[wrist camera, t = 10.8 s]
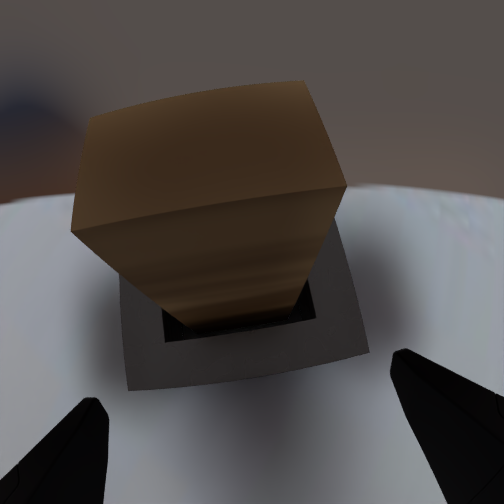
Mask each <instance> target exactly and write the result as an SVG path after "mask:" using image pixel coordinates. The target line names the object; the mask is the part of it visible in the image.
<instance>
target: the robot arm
mask: <svg viewBox="0 0 504 504" xmlns="http://www.w3.org/2000/svg"><path fill="white" fill-rule="evenodd" d="M390 376H391V379H392V382H393V384H394V387H395V390H396V392H397V395H398V397H399V400H400V403H401V406H402V408H403V411H404V413H405V416H406V418H407V420H408V422H409V424H410V426H411V428H412V430H413V432H414V434H415V436H416V438H417V440H418V442H419V444H420V446H421V448H422V450H423V453H424V455H425V457H426V459H427V461H428V463H429V465H430V467H431V469H432V471H433V473H434V475H435V478H436V480H437V482H438V484H439V486H440V488H441V491H442V493H443V495H444V497H445V499H446V502H447V504H504V397H503V396H501V395H499V394H495V393H494V392H492V391H490V390H488V389H486V388H484V387H482V386H480V385H478V384H476V383H474V382H472V381H470V380H468V379H466V378H464V377H462V376H460V375H458V374H456V373H455V372H453V371H451V370H449V369H447V368H445V367H443V366H441V365H439V364H437V363H435V362H433V361H431V360H429V359H427V358H425V357H423V356H421V355H419V354H417V353H415V352H413V351H411V350H409V349H407V348H404V349H401V350H398V351H395V352H394V354H393V357H392V363H391V369H390ZM108 441H109V416H108V414H107V412H106V411H105V409H104V407H103V406H102V404H101V403H100V401H99V400H98V399H97V398H95V397H86V398H84V399H83V400H82V401H81V402H80V403H79V404H78V405H77V406H75V407H74V408H73V409H72V410H71V411H70V412H69V413H68V414H67V415H66V416H65V417H64V418H63V419H62V420H61V421H60V422H59V423H58V424H57V425H56V426H55V427H54V428H53V429H52V430H51V431H50V432H49V433H48V434H47V435H46V436H45V437H44V438H43V439H42V440H41V441H40V442H39V443H38V444H37V445H36V446H35V447H34V448H33V449H32V450H31V451H30V452H29V453H28V454H27V455H26V456H25V457H24V458H23V459H22V460H21V461H19V463H18V464H16V465H15V466H14V467H13V468H12V469H11V470H10V471H9V472H8V473H7V474H6V475H5V476H4V477H3V478H2V479H1V480H0V504H103V501H104V491H105V482H106V473H107V465H108Z"/></svg>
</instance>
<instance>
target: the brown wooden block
mask: <svg viewBox="0 0 504 504" xmlns="http://www.w3.org/2000/svg"><path fill="white" fill-rule="evenodd" d="M346 188H347V184H346V181H345V179H344V176H343V173H342V170H341V168H340V165H339V163H338V160H337V158H336V155H335V152H334V150H333V148H332V144H331V142H330V139H329V137H328V135H327V132H326V130H325V128H324V125H323V123H322V120H321V118H320V115H319V113H318V111H317V109H316V106H315V104H314V102H313V99H312V98H311V95H310V93H309V91H308V88H307V86H306V84H305V82H304V81H287V82H274V83H263V84H254V85H244V86H236V87H228V88H221V89H214V90H209V91H202V92H196V93H190V94H185V95H180V96H175V97H170V98H165V99H160V100H156V101H151V102H147V103H143V104H139V105H135V106H131V107H127V108H123V109H119V110H115V111H112V112H108V113H105V114H101V115H98V116H95V117H92V118H90V120H89V125H88V128H87V133H86V137H85V142H84V147H83V151H82V156H81V162H80V168H79V173H78V179H77V186H76V192H75V199H74V206H73V214H72V223H71V232H72V233H73V234H74V235H75V236H76V237H77V238H78V239H79V240H81V241H82V242H83V243H84V244H85V245H86V246H87V247H88V248H90V249H91V250H92V251H93V252H94V253H95V254H96V255H98V256H99V257H100V258H101V259H102V260H103V261H105V262H106V263H107V264H108V265H109V266H110V267H112V268H113V269H114V270H115V271H116V272H118V273H119V274H120V275H121V276H122V277H124V278H125V279H126V280H127V281H129V282H130V283H131V284H132V285H133V286H135V287H136V288H137V289H138V290H140V291H141V292H142V293H143V294H145V295H146V296H147V297H149V298H150V299H151V300H152V301H154V302H155V303H156V304H158V305H159V306H160V307H161V308H163V309H164V310H165V311H167V312H168V313H169V314H171V315H172V316H173V317H175V318H176V319H177V320H179V321H180V322H181V323H183V324H184V325H185V326H187V327H188V328H190V329H191V330H192V331H194V332H195V333H197V334H203V333H211V332H218V331H225V330H232V329H238V328H245V327H251V326H257V325H263V324H269V323H275V322H281V321H287V320H288V318H289V316H290V314H291V312H292V310H293V308H294V305H295V303H296V301H297V299H298V297H299V295H300V293H301V291H302V288H303V286H304V284H305V282H306V280H307V278H308V275H309V273H310V271H311V269H312V267H313V264H314V262H315V260H316V258H317V256H318V253H319V251H320V249H321V247H322V244H323V242H324V240H325V237H326V235H327V233H328V230H329V228H330V226H331V224H332V221H333V219H334V216H335V214H336V212H337V209H338V207H339V205H340V202H341V200H342V197H343V195H344V192H345V190H346Z"/></svg>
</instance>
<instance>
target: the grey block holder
mask: <svg viewBox="0 0 504 504" xmlns="http://www.w3.org/2000/svg"><path fill="white" fill-rule="evenodd" d="M119 282H120V307H121V323H122V337H123V348H124V359H125V368H126V377H127V385H128V391H136V390H152V389H165V388H177V387H187V386H196V385H205V384H213V383H221V382H228V381H235V380H242V379H248V378H254V377H260V376H266V375H272V374H277V373H283V372H288V371H293V370H298V369H303V368H308V367H312V366H317V365H321V364H326V363H330V362H334V361H338V360H343V359H347V358H351V357H354V356H358V355H362V354H366V353H370V352H369V348H368V343H367V338H366V334H365V330H364V325H363V321H362V317H361V313H360V308H359V304H358V300H357V296H356V293H355V289H354V285H353V281H352V277H351V273H350V270H349V266H348V263H347V259H346V255H345V252H344V248H343V245H342V241H341V238H340V235H339V231H338V228H337V225H336V221H335V218H334V219H333V221H332V224H331V226H330V228H329V230H328V233H327V235H326V237H325V240H324V242H323V244H322V247H321V249H320V251H319V253H318V256H317V258H316V260H315V262H314V264H313V267H312V269H311V271H310V273H309V275H308V278H307V280H306V282H305V284H304V286H303V288H302V291H301V293H300V295H299V297H298V304H299V308H300V313H301V318H302V321H301V322H296V323H290V324H285V325H280V326H274V327H268V328H263V329H257V330H251V331H245V332H239V333H232V334H226V335H219V336H212V337H205V338H198V339H191V340H184V337H183V329H182V323H181V322H180V321H179V320H177V319H176V318H175V317H173V316H172V315H171V314H169V313H168V312H167V311H165V310H164V309H163V308H161V307H160V306H159V305H158V304H156V303H155V302H154V301H152V300H151V299H150V298H149V297H147V296H146V295H145V294H143V293H142V292H141V291H140V290H138V289H137V288H136V287H135V286H133V285H132V284H131V283H130V282H129V281H127V280H126V279H125V278H124V277H122V276H121V275H120V274H119Z"/></svg>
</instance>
